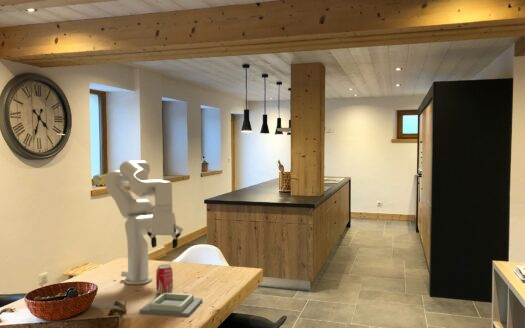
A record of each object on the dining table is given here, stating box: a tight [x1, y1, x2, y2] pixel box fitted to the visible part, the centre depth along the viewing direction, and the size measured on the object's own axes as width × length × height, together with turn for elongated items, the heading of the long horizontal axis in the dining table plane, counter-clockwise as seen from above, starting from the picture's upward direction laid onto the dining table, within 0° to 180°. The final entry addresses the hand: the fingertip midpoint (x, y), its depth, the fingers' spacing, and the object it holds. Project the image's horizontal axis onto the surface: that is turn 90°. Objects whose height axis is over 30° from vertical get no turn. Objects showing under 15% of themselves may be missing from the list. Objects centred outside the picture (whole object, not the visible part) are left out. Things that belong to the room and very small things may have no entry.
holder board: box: [139, 292, 203, 317], centre depth 166 cm, size 20×16×3 cm
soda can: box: [155, 264, 174, 296], centre depth 182 cm, size 7×7×12 cm
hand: (164, 247), depth 182 cm, fingers open, 9 cm apart
